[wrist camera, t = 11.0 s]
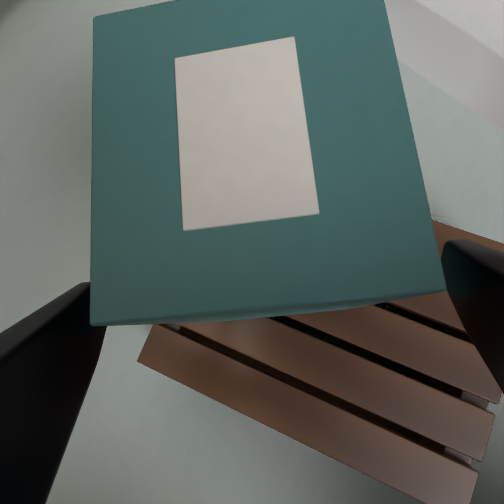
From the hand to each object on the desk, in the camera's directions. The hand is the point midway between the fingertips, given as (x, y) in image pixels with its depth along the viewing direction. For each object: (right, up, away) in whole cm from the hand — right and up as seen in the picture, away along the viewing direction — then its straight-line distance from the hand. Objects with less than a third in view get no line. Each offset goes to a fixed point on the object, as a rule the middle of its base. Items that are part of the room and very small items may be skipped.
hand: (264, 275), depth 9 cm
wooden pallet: (+4, -3, +12) cm, 13 cm away
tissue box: (+1, +1, +8) cm, 8 cm away
